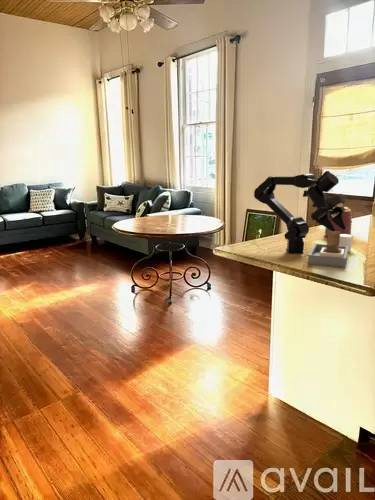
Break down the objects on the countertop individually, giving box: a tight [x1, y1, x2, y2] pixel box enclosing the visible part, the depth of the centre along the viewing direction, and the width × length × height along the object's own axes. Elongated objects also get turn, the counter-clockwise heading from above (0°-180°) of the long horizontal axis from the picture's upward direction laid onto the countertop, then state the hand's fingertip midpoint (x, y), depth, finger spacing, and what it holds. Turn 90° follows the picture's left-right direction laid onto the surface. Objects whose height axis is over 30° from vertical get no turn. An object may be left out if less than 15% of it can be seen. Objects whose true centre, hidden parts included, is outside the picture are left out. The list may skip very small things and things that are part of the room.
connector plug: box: [326, 230, 340, 253], centre depth 149 cm, size 5×5×12 cm
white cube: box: [339, 234, 354, 252], centre depth 168 cm, size 7×7×7 cm
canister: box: [324, 203, 354, 238], centre depth 194 cm, size 13×13×18 cm
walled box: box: [307, 243, 349, 269], centre depth 155 cm, size 14×20×5 cm
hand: (339, 230), depth 149 cm, fingers open, 9 cm apart
